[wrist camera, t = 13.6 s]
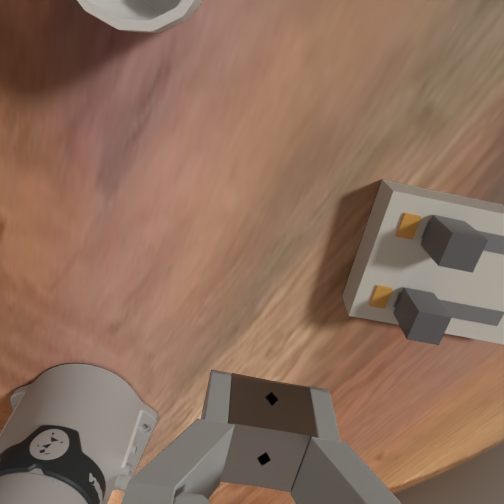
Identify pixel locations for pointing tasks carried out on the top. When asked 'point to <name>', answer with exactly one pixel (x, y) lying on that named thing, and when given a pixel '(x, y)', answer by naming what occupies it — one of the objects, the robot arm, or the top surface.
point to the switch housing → (428, 261)
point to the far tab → (421, 316)
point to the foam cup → (141, 13)
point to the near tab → (453, 243)
